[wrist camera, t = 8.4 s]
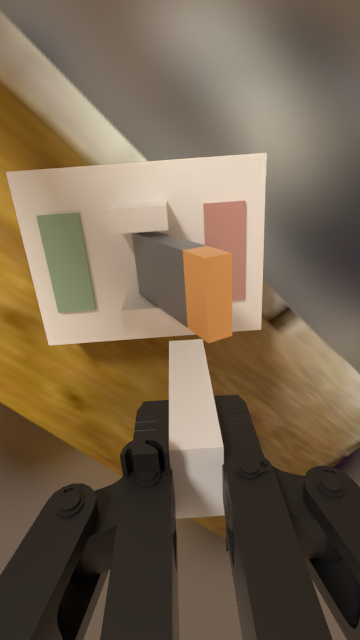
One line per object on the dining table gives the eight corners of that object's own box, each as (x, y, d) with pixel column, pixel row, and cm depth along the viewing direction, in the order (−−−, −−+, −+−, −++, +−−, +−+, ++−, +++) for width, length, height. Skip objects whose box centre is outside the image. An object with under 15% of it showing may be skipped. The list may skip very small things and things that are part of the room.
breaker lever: (136, 291, 35) (208, 343, 24) (128, 231, 33) (205, 257, 21) (153, 287, 36) (232, 335, 25) (148, 228, 34) (231, 252, 22)
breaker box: (62, 325, 44) (33, 368, 34) (28, 171, 36) (-23, 172, 27) (250, 311, 44) (273, 351, 34) (253, 155, 36) (283, 149, 27)
